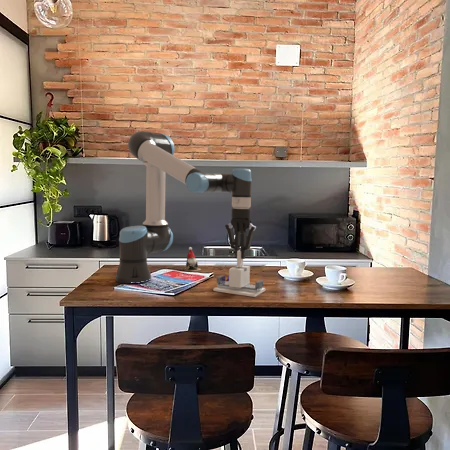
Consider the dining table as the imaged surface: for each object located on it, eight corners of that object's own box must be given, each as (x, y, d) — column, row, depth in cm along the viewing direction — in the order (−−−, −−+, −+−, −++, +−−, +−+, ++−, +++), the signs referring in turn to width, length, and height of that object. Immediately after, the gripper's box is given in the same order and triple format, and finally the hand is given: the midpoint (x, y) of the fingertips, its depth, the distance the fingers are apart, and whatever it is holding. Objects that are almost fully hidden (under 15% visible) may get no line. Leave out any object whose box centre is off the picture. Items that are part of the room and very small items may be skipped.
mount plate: (213, 290, 172) (213, 288, 171) (225, 285, 181) (225, 282, 181) (254, 296, 164) (255, 294, 164) (265, 290, 173) (265, 288, 173)
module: (228, 286, 169) (229, 268, 169) (238, 281, 177) (238, 264, 177) (240, 287, 167) (240, 270, 166) (249, 283, 175) (250, 266, 174)
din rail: (215, 286, 174) (215, 277, 173) (222, 283, 179) (222, 274, 179) (258, 293, 166) (258, 283, 165) (263, 289, 171) (264, 280, 171)
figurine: (198, 265, 203) (183, 247, 208) (188, 279, 208) (174, 261, 212) (209, 262, 210) (194, 245, 215) (198, 276, 214) (184, 259, 219)
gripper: (222, 207, 168) (221, 266, 171) (252, 209, 163) (251, 270, 165) (230, 206, 175) (229, 263, 178) (260, 208, 169) (258, 266, 172)
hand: (239, 266), depth 171 cm, fingers closed
